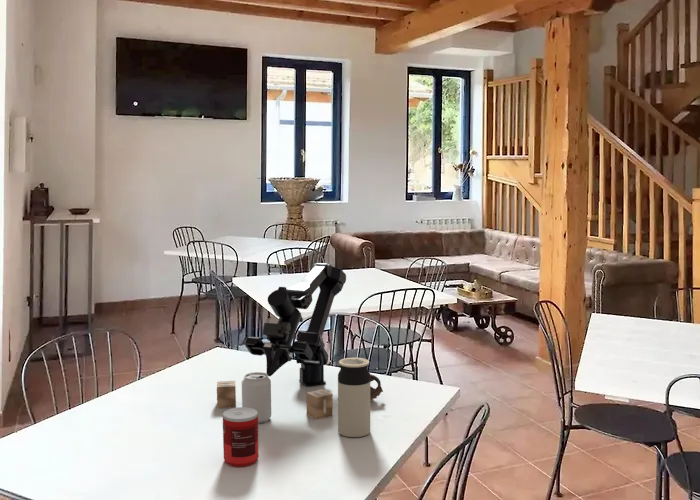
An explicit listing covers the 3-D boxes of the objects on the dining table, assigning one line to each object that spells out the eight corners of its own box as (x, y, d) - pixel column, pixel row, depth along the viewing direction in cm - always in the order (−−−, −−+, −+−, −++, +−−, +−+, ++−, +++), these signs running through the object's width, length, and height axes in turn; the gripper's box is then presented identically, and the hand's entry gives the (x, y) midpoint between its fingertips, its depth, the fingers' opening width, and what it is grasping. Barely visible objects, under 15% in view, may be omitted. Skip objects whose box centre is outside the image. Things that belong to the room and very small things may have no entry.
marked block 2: (322, 410, 185) (322, 388, 185) (332, 416, 181) (332, 393, 180) (306, 414, 182) (306, 392, 182) (316, 420, 178) (316, 397, 178)
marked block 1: (235, 401, 193) (235, 380, 192) (235, 407, 188) (235, 385, 188) (217, 402, 192) (216, 381, 192) (217, 408, 187) (216, 386, 187)
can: (266, 425, 174) (265, 379, 173) (238, 423, 176) (237, 378, 174) (275, 415, 181) (274, 371, 180) (248, 413, 183) (247, 370, 182)
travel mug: (359, 440, 164) (359, 367, 162) (331, 434, 168) (331, 362, 166) (376, 430, 171) (376, 359, 169) (349, 424, 175) (348, 355, 173)
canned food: (240, 450, 159) (239, 404, 157) (266, 458, 154) (265, 411, 153) (216, 462, 152) (214, 414, 151) (242, 470, 148) (241, 421, 147)
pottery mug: (384, 395, 199) (387, 376, 194) (373, 419, 192) (377, 399, 187) (345, 382, 202) (348, 362, 197) (334, 405, 194) (336, 385, 189)
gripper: (246, 308, 190) (226, 356, 181) (307, 312, 183) (289, 363, 174) (261, 330, 198) (242, 377, 189) (320, 335, 191) (303, 385, 182)
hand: (268, 375), depth 183 cm, fingers closed
